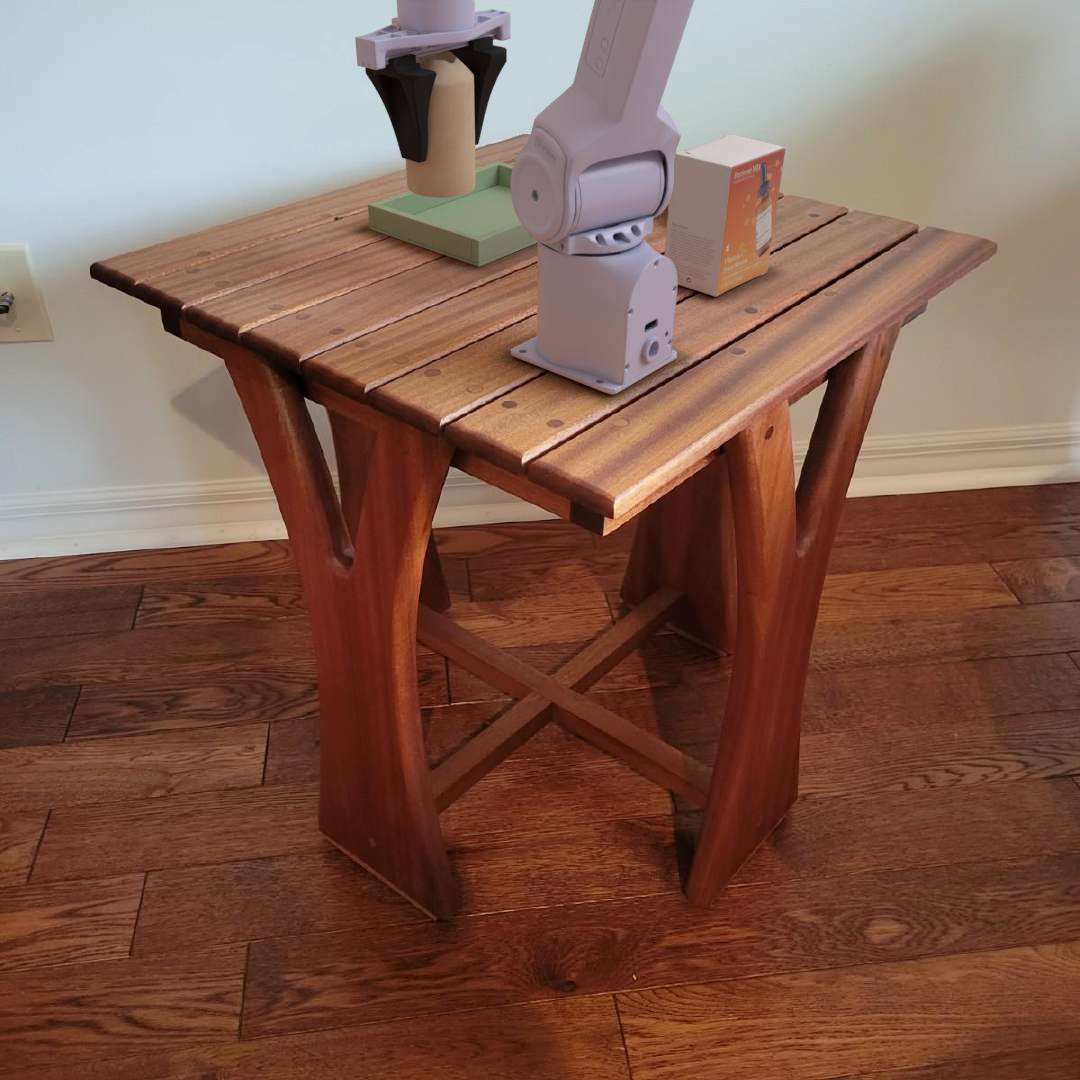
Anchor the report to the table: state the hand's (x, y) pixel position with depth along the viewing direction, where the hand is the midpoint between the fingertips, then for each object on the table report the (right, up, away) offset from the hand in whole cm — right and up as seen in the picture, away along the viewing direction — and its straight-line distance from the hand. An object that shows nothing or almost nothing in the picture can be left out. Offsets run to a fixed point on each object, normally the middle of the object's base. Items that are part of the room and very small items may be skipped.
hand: (441, 150), depth 86 cm
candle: (0, -3, +2) cm, 3 cm away
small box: (+23, -9, +6) cm, 25 cm away
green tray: (+3, -1, +16) cm, 16 cm away
